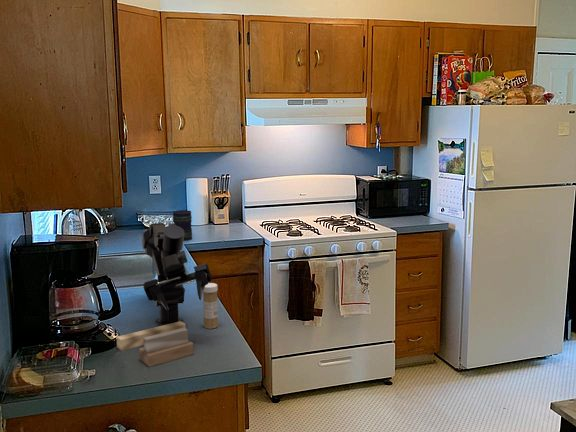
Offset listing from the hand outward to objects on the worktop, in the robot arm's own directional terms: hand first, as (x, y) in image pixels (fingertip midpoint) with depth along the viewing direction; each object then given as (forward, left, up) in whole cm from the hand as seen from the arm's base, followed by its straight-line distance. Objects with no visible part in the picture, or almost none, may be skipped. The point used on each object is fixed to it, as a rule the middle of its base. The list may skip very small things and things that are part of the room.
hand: (183, 304), depth 156 cm
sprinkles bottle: (-11, +15, -13) cm, 22 cm away
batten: (-12, -4, -13) cm, 18 cm away
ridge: (+1, -6, -13) cm, 15 cm away
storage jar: (-133, +71, -13) cm, 151 cm away
